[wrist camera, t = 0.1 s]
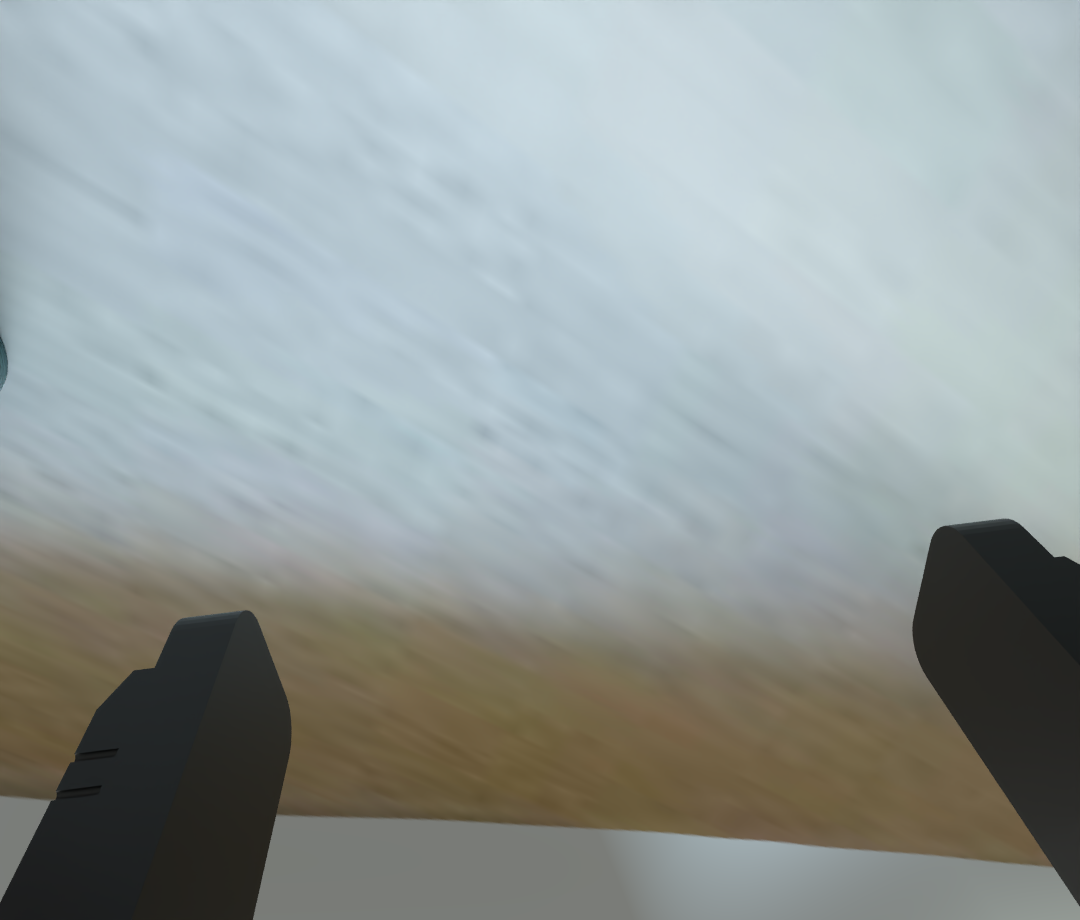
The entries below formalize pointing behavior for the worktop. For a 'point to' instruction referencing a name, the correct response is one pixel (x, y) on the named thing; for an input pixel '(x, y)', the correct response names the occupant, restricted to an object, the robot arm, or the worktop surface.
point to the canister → (2, 364)
